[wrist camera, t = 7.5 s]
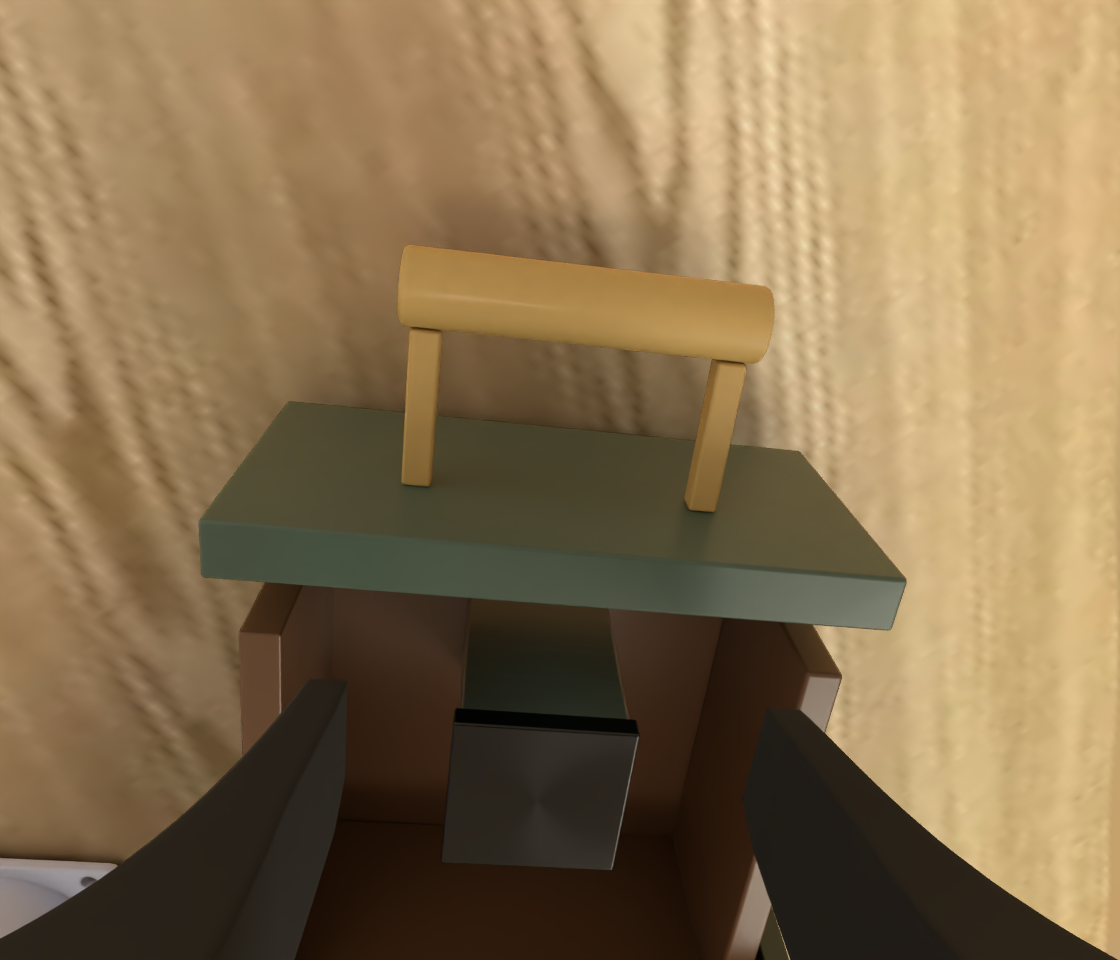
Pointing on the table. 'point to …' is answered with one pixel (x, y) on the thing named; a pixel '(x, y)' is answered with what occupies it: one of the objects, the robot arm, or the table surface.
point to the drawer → (547, 578)
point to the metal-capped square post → (538, 740)
